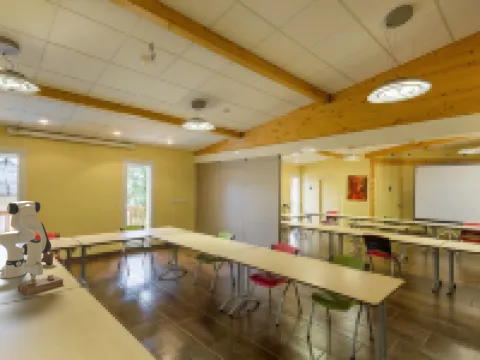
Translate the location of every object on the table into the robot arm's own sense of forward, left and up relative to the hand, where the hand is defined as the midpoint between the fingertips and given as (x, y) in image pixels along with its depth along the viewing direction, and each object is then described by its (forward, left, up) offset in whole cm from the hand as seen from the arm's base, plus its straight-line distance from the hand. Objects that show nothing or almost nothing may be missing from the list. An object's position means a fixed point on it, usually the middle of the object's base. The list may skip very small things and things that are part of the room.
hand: (33, 279), depth 191 cm
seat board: (0, +6, -8) cm, 10 cm away
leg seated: (0, +12, -8) cm, 15 cm away
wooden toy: (-62, +37, -9) cm, 73 cm away
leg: (0, 0, -8) cm, 8 cm away
